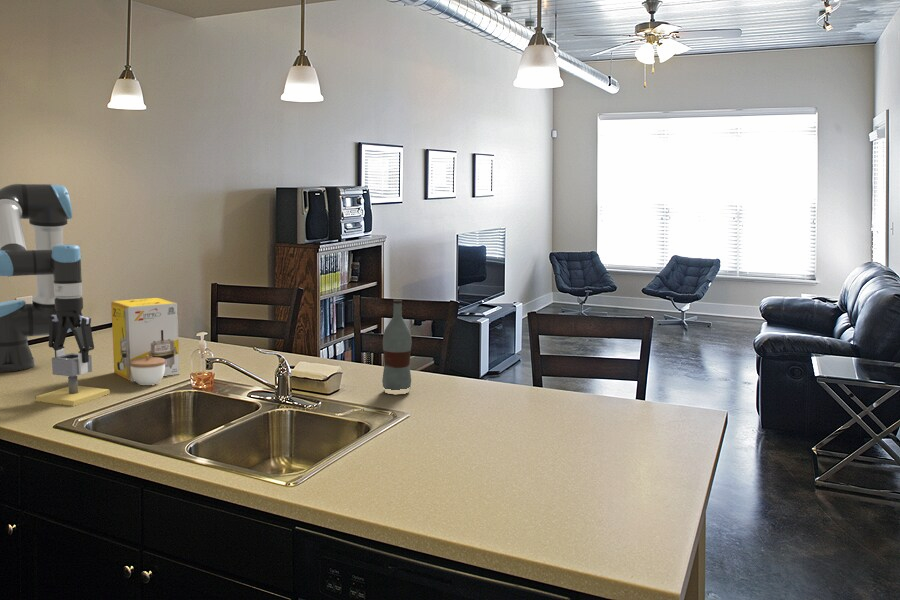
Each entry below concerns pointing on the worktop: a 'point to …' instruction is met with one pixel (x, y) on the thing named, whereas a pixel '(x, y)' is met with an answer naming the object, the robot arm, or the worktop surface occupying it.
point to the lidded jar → (147, 370)
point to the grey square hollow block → (68, 365)
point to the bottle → (397, 351)
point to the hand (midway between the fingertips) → (72, 371)
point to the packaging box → (144, 333)
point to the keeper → (72, 394)
